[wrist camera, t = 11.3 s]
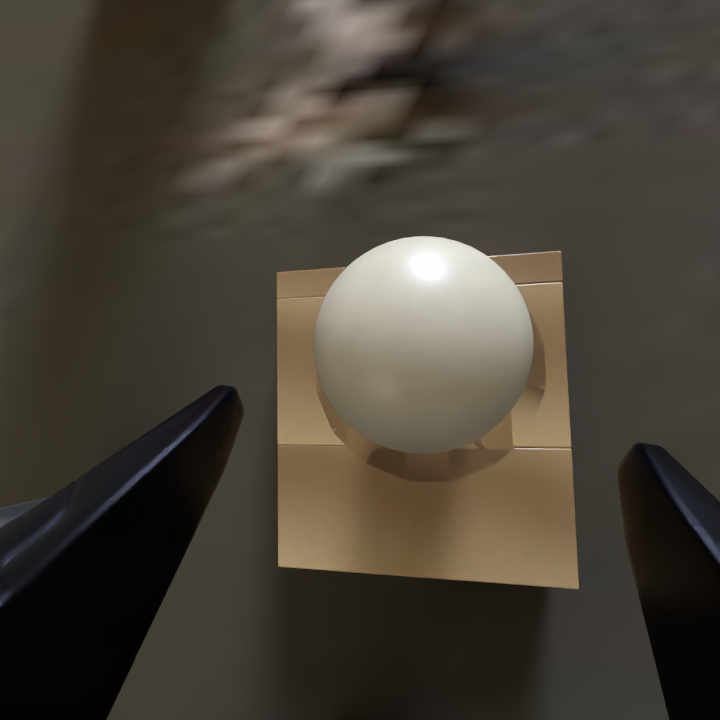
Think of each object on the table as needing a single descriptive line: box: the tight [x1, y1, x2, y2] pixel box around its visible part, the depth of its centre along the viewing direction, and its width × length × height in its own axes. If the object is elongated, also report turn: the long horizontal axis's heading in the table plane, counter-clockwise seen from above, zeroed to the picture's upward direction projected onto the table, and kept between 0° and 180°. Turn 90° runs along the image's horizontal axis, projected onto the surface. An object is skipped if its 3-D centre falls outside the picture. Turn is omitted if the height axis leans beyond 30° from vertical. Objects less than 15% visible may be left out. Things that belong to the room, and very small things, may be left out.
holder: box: [277, 251, 579, 589], centre depth 17 cm, size 13×12×3 cm
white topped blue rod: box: [313, 236, 534, 454], centre depth 12 cm, size 4×4×14 cm
